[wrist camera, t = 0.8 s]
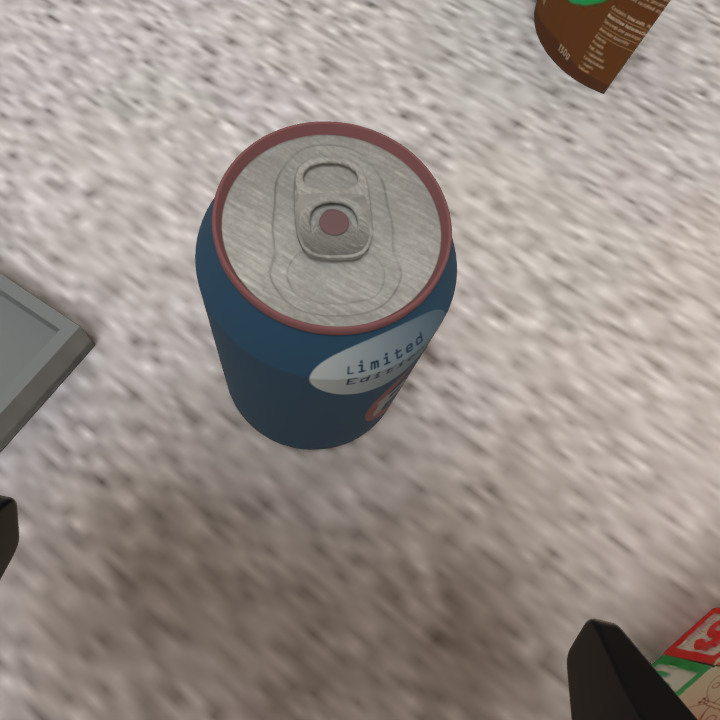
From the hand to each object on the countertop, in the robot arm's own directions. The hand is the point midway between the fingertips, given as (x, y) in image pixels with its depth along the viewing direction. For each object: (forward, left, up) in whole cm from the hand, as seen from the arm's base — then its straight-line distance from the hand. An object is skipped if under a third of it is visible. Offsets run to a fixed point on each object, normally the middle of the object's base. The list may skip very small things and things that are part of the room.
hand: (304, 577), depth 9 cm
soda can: (+7, +4, -15) cm, 17 cm away
